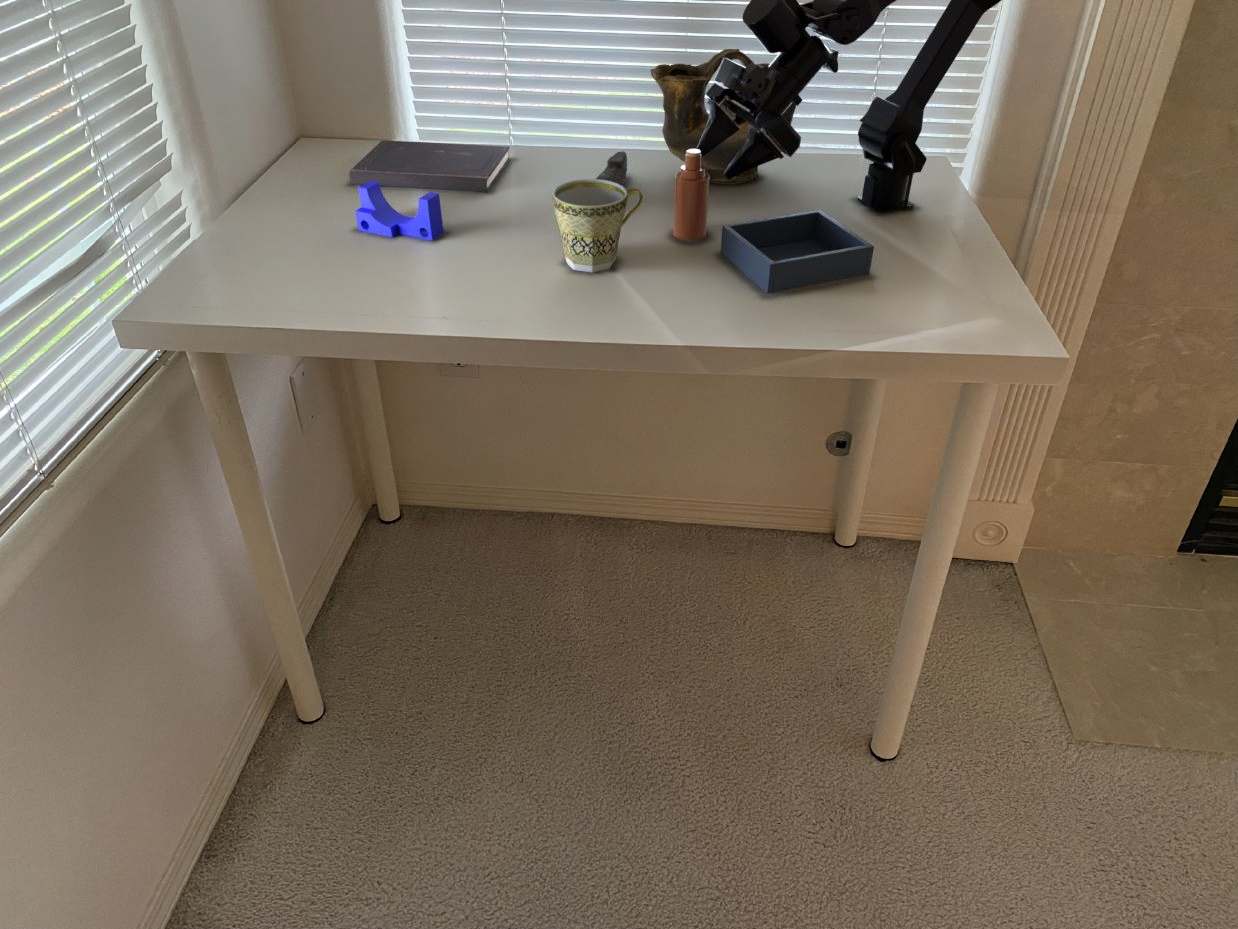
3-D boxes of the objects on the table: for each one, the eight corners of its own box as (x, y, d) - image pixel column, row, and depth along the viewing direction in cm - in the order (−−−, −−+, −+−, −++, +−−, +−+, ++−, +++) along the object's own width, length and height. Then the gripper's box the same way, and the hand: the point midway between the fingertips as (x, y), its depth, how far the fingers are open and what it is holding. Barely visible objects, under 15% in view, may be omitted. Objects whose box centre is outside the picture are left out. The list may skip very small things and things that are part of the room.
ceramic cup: (573, 283, 124) (571, 211, 118) (543, 255, 132) (540, 186, 126) (658, 264, 129) (660, 194, 123) (625, 238, 136) (625, 170, 130)
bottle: (707, 230, 139) (712, 146, 131) (704, 244, 135) (709, 157, 127) (675, 228, 139) (678, 144, 132) (671, 241, 136) (674, 155, 128)
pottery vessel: (653, 189, 152) (656, 60, 140) (644, 166, 161) (647, 42, 149) (803, 183, 154) (819, 56, 142) (787, 161, 163) (800, 39, 151)
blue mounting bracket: (358, 230, 139) (351, 190, 135) (377, 219, 142) (370, 180, 138) (426, 244, 135) (421, 204, 131) (443, 233, 138) (439, 193, 134)
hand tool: (599, 219, 142) (599, 189, 139) (574, 215, 143) (574, 185, 141) (640, 177, 156) (641, 150, 154) (618, 174, 158) (618, 147, 155)
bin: (816, 239, 136) (820, 209, 134) (868, 277, 126) (874, 246, 124) (720, 255, 132) (722, 225, 129) (766, 296, 122) (770, 264, 119)
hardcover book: (383, 153, 166) (381, 140, 164) (510, 159, 163) (509, 146, 162) (350, 185, 153) (348, 171, 152) (487, 193, 151) (486, 179, 149)
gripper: (722, 20, 130) (648, 110, 134) (790, 51, 116) (705, 151, 120) (767, 74, 137) (695, 158, 141) (836, 109, 124) (755, 202, 127)
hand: (711, 166), depth 132 cm, fingers open, 9 cm apart
